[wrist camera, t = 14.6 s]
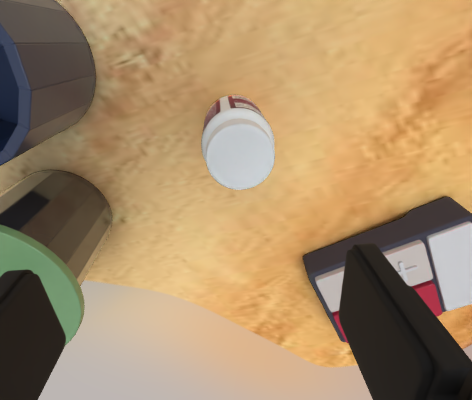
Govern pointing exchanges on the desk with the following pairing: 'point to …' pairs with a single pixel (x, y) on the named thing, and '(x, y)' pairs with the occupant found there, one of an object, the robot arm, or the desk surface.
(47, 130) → the tin
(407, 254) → the calculator
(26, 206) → the cup
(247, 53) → the desk surface
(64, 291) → the lid
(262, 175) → the pill bottle
